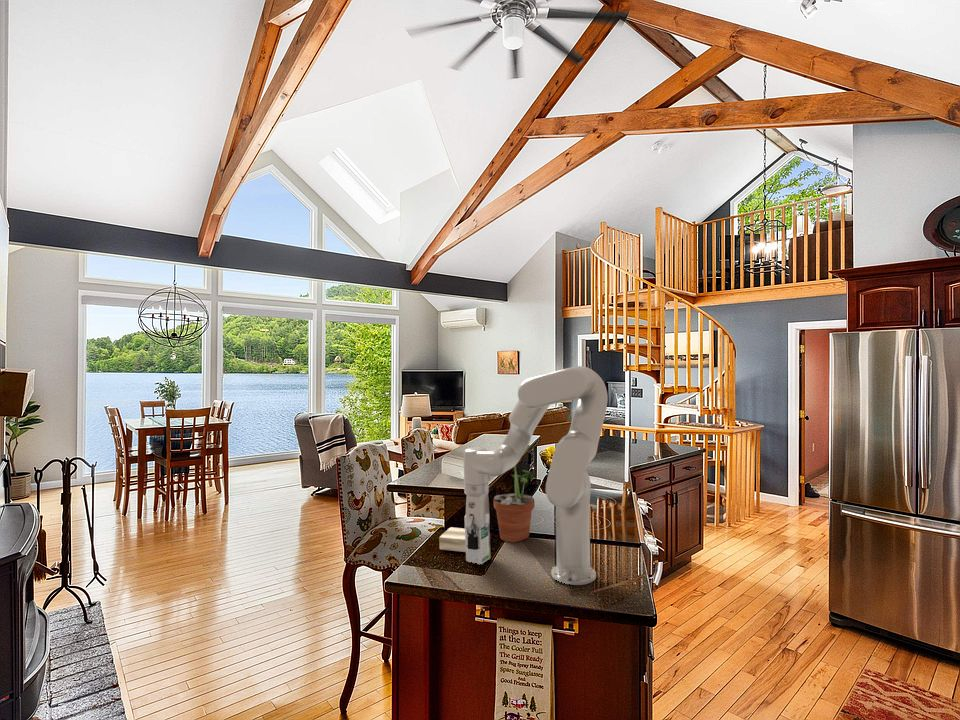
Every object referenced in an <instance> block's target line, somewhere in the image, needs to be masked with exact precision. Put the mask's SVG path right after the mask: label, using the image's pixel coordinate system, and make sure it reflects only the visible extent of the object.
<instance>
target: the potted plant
mask: <svg viewBox="0 0 960 720" xmlns="http://www.w3.org/2000/svg"><path fill="white" fill-rule="evenodd" d="M530 446H531V445H530V444H528V446H527V448H526V450H525V452H524V453H523V455H522V456H521V458H520V460H519V461H518V463H520V462H521V461H522V458H523V456H524V455H525V454H526V453H527V451H528V449H529V448H530ZM513 471H514V474H511V478H513V479H514V493H504V494H496V495H495V496H494V497H493V508H494V509H495V511H496V518H497V523H498V524H497V525H498V531H499V537H500V538H499V539H501V540H502V541H504V542H508V543H509V542H510V543H516V542H521V541H525V540H526V539H528V538H529V537H530V529H531V519H532V511H533V510H534V509H535V498H534V497H533V496H531V495H529V494H525V493H524V489H525V484H527V483H528V482H529V480H533V479H534V478H535V475H534V474H533V472H532V471H530V470H525V469H521V471H522V472H523V473H524V474H519V475H518V471H517V464H516V465H515V466H514V467H513ZM519 478H520V483H523V484H522V489H521V493H520V486H519ZM528 479H529V480H528Z"/></svg>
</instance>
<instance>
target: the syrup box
mask: <svg viewBox="0 0 960 720" xmlns="http://www.w3.org/2000/svg"><path fill="white" fill-rule="evenodd" d="M489 513H490V512H489ZM489 513H487V514H486V515H485V516H486V517H485V518H486V524H485V525H484V526H483V527H482V528H479V527H478V532H477V536H478V549H477V550H473V549H468V536H467V528H466V526H467V525H466V514H465V515H464V516H463V517H464V528H465V544H466V552H465V561H466V562H468V563H471V562H472V564H475V563H477V565H480V564H481V565H483V564H484V563H485V562H487V561H488V560H491V558H492V556H491V554H492V553H491V532H490V529H491V528H490V525H491V524H490V518H489ZM472 526H476V524H473V525H472ZM472 530H474V532H475V529H473V528H472ZM481 565H480V566H481Z"/></svg>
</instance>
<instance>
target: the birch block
mask: <svg viewBox="0 0 960 720" xmlns="http://www.w3.org/2000/svg"><path fill="white" fill-rule="evenodd" d="M438 539H439V540H438V542H439V550H443V551H453V552H463V553H466V544H465V527H464V528H462V527H453V526H451V527H449V528H447V530H445V531H444V532H443V533H442V534H441V535H440V536H439V538H438Z"/></svg>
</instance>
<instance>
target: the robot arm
mask: <svg viewBox="0 0 960 720" xmlns="http://www.w3.org/2000/svg"><path fill="white" fill-rule="evenodd" d="M517 398H518V401H517V402H516V404H515V406H514V407H513V408H512V410H511V412H510V414H509V416H508V421H509V423H510V426H509V430H508V433H507V435H506V436H505V438H504V439H503V441H502V443H501V445H500V446H499V447H496V448H494V449H492V450H489V451H488V450H487V449H486V448H485V447H481V446H480V447H477V446H475V447H473V446H472V447H468V448H465V450H464V451H463V481H464V484H463V486H464V487H463V488H464V489H463V491H464V494H465V495H466V500H465V501H466V503H465V515H466V525H467V526H466V528H467V536H468V549H473V550H477V549H478V536H477V532H478V527H479V528H482V527H483V526H484V525H485V524H486V518H485V517H486V516H485V515H486V514H487V513H489V519H490V516H491V515H490V513H491V512H490V501H489V491H490V489H489V488H490V487H489V485H490V484H489V476H491V477H499V476H501V475H503V474H504V473H506V472H508V471H509V470H511V469H514V468H515V465H516V466H517V465H518V463H519V462H518V461H519V460H521V459H522V457H523V456H524V455H523V453H524V452H525V450H526V448H527V446H528V445H530V442H531V439H532V437H533V434H534V431H535V430H536V428H537V427H538V425H539V423H540V422H541V420H542V418H543V417H544V415H545V414H546V412H547V410H548V408H549V407H550V405H551V406H552V405H554V404H558V403H559V404H560V403H562V402H567V401H572V400H575V399H577V400H576V401H577V402H576V406H575V409H574V412H573V414H572V419H571V423H570V426H569V430H568V432H567V434H566V435H564V436H563V437H561V438H560V439H559V441H558V442H557V444H556V446H555V448H554V451H553V454H552V458H551V463H550V467H549V470H548V475H547V479H546V482H545V494H546V497H547V499H548V501H549V503H551V504H552V505H553V506H554V507H555V542H556V543H555V547H556V548H555V550H556V551H555V553H556V558H555V559H556V565H555V566H554V567H552V569H551V578H552V579H554V580H555V581H556V580H557V582H558V581H559V582H558V583H561V582H562V583H561V584H564V583H565V584H564V585H569V584H570V585H571V586H583V585H588V584H591V583H592V582H594V581H595V580H596V579H597V572H596V571H595V570H596V569H594V568H592V567H591V539H590V537H591V535H590V529H591V528H590V517H591V515H590V513H591V512H590V508H591V507H590V505H591V504H590V503H591V502H590V501H591V490H592V484H591V483H592V482H591V479H590V475H589V473H588V472H587V470H588V469H587V468H588V466H589V464H590V462H592V461H593V459H594V458H595V457H596V455H597V451H598V446H599V442H600V438H601V434H602V430H603V426H604V421H605V418H606V413H607V408H608V407H607V406H608V390H607V387H606V385H605V382H604V380H603V379H602V377H600V375H599V374H598V373H597V372H596V371H594V370H593V369H591V368H590V367H587V366H581V365H578V366H577V365H576V366H572V367H567V368H563V369H559V370H555V371H553V372H548V373H545V374H542V375H541V374H540V375H537V376H532V377H528V378H526V379H524V380H523V381H522V382H521V383H520V385H519V386H518V390H517ZM525 453H526V452H525ZM522 455H523V456H522ZM521 456H522V457H521ZM520 458H521V459H520ZM473 524H476V526H472V525H473ZM472 528H473V529H475V532H474V530H472ZM570 585H569V586H570Z"/></svg>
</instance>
